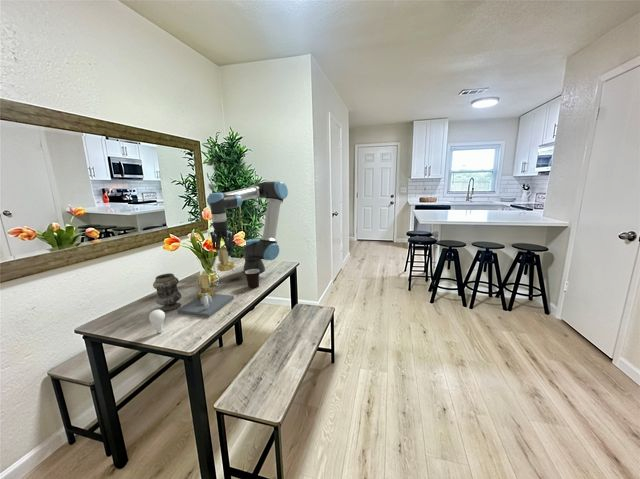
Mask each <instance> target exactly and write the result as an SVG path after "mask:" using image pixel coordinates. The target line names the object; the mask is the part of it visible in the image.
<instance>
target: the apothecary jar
mask: <svg viewBox="0 0 640 479" xmlns="http://www.w3.org/2000/svg"><path fill="white" fill-rule="evenodd" d="M178 284H179V279H178V277H176V276H175V274H174V273H171V272H168V273H162V274H160V275H156V277H155V280H154V282H153V283H152V286H153V289H155V290H156V294H157V296H156V298H155V302H156V304H158V305H159V306H161V307H160V309H159V310H162V311H163V312H164V313H168V312H173V311H177V310H178V309H179V308H181V307H182V304H181V302H178V301H179V300H181V298H182V293H181V292H180V291H179V289H178Z"/></svg>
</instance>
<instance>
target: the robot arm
mask: <svg viewBox="0 0 640 479" xmlns="http://www.w3.org/2000/svg"><path fill="white" fill-rule="evenodd" d="M288 190H289V189H288V187H287V185H286V184H285V183H284V182H283V181H278V180H276V181H262V182H259V183H256V184H251V185H250V186H249V187H245V188H240V189H235V190H230V191H228V192H227V191H226V192H212V193H209V195H208V197H207V198H206V203H207V206H208V207H209V208H210V212H211V220H212V228H213V231H210V232H209V235H210V237H211V244H212V243H213V247H212V249H213V250H215V251H216V255H217V258H218V262H220V256H219V249H220V248H221V242H222V241H221V240H223V243H224V246H225V248H227V250H226V255H227V262H232V257H231V256H232V250H234V249H235V246H234V239H233V238H234V237H233V233H234V232H233V231H230V230H229V229H228V221H227V213H226V210H228V209H233V208H239V207H241V206H242V204H243V202H244V201H247V200H250V199H251V200H252V199H253V200H255V199H265V200H266V201H267V206H266V211H265V212H266V213H265V220H264V225H263V233H262V237H261V238H251V239H248V240H245V241H246V245H244V246H242V249H243V254H244V255H243V256H244V264H243V274H245V271H247V270H250V269H258V270H259V274H262V273H264V272H265V271H266V267H265V264H264V261H263V260H265V261H274V260H276V258H278V256H279V254H280V246H279V245H278V241H277V239H276V237H277V236H276V235H277V229H278V223H279V216H280V210H281V205H282V204H283V202H284V200H285V199H287V197H288V194H289V191H288ZM215 242H216V247H215Z"/></svg>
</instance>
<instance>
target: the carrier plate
mask: <svg viewBox="0 0 640 479" xmlns="http://www.w3.org/2000/svg"><path fill="white" fill-rule="evenodd" d="M203 295H204V296H203V297H202V298H201V300H200V299H199V298H197V297H196V298H194V299H193V300H191V301H190V302H187V303H186V304H184V305H183V306H180V307H179V308H178V309H176V311H177V314H178V315H179V314H180V315H186V316H187V315H188V316H192V317H193V316H194V317H201V318H207V319H209V318H211V317H212V316H214V315H215V314H216V313H218V312H219V311H220V310H221V309H223V308H224V307H226V306H227V305H228V304H229V303H231V302H232V301H234V299H235V298H234V296H235V295H230V294H220V293H215V295H214V297H211V296H209V295H208V293H204V294H203Z"/></svg>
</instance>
